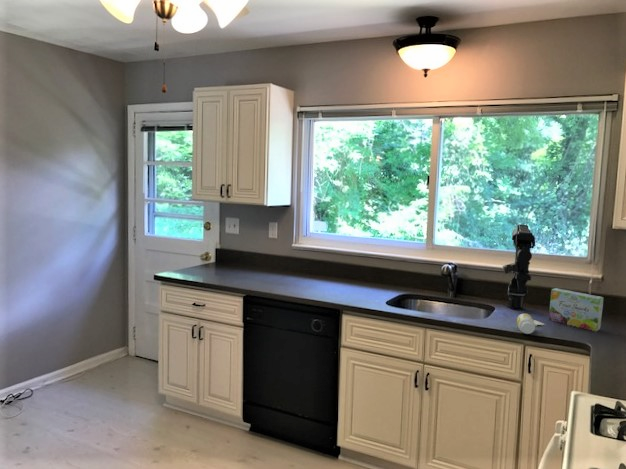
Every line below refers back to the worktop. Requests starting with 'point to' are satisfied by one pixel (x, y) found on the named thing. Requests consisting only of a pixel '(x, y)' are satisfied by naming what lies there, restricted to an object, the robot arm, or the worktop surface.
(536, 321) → the cream tile
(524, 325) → the supplement bottle
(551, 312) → the snack box
